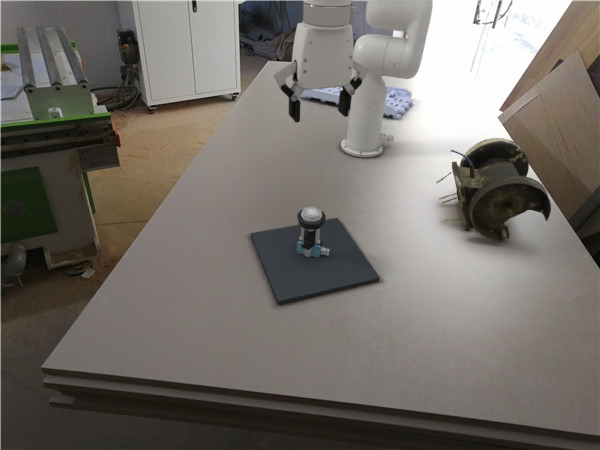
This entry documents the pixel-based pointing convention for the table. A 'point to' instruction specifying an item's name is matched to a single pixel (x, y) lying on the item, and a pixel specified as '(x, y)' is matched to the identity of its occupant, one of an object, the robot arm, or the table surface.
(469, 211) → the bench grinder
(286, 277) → the mat
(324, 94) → the ice tray
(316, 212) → the push button
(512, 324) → the table surface
